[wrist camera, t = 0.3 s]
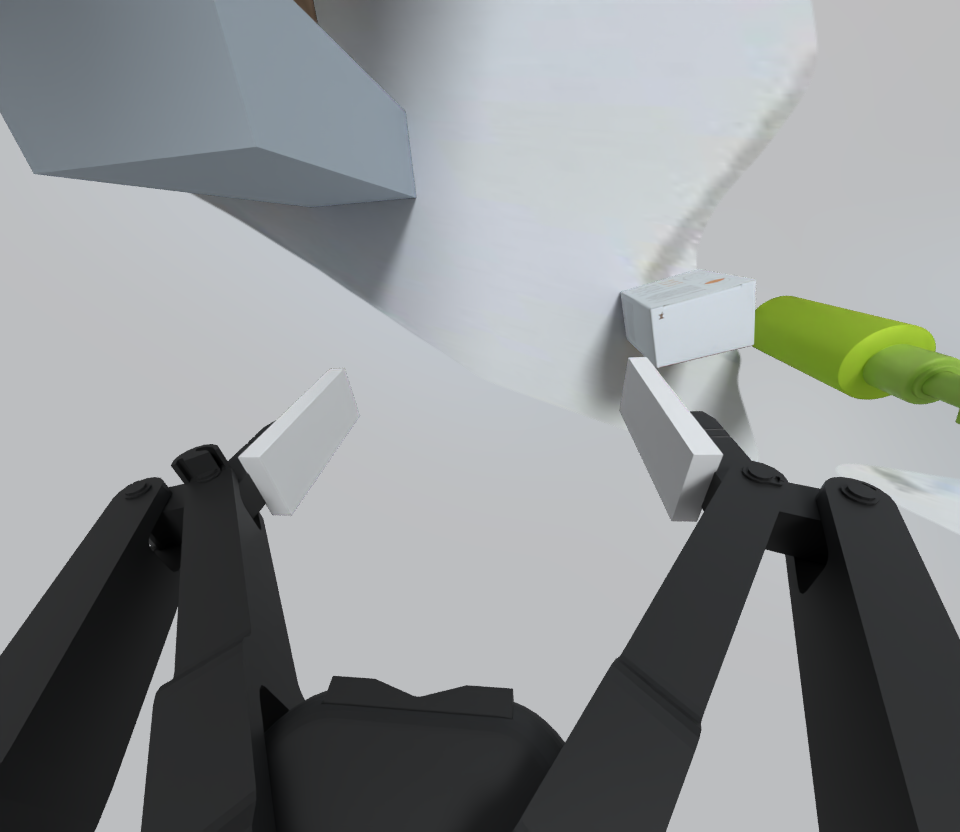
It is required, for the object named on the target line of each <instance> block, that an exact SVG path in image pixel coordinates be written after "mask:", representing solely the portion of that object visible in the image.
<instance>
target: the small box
mask: <svg viewBox="0 0 960 832" xmlns="http://www.w3.org/2000/svg"><path fill="white" fill-rule="evenodd" d="M620 294H621V301H622V309H623V316H624V324H625V331H626V338H627V340H628V341H629V342H630V343H631V344H632V345H633V346H634V347H635V348H636V349H637V350H639V352H641V353H642V354H643V355H644V356H645V357H647V358H648V359H649V361H650V362H651V363H652V364H653V365H654V366H655V367H656V368H661V367H665V366H669V365H673V364H677V363H682V362H686V361H690V360H694V359H698V358H702V357H706V356H711V355H715V354H719V353H723V352H727V351H732V350H736V349H740V348H744V347H748V346H753V345H754V328H755V301H756V280H755V279H751V278H746V277H739V276H735V275H729V274H724V273H718V272H712V271H707V270H701V269H696V270H692V271H689V272H686V273H683V274H679V275H676V276H672V277H669V278H666V279H662V280H659V281H656V282H652V283H649V284H645V285H642V286H639V287H635V288H632V289H629V290H625V291H621V292H620Z"/></svg>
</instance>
